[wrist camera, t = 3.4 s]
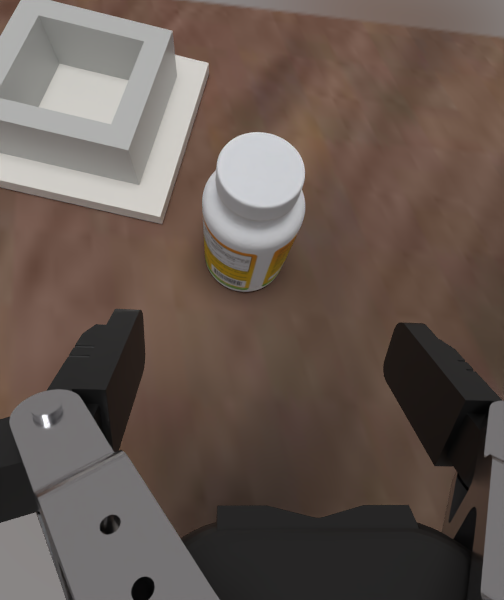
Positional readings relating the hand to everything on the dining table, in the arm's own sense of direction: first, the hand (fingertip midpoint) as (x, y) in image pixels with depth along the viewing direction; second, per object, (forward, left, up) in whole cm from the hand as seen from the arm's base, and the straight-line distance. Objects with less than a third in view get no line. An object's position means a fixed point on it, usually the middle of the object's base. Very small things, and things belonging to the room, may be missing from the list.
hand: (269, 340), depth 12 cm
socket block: (+14, -16, -12) cm, 25 cm away
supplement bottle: (+1, -8, -12) cm, 15 cm away
